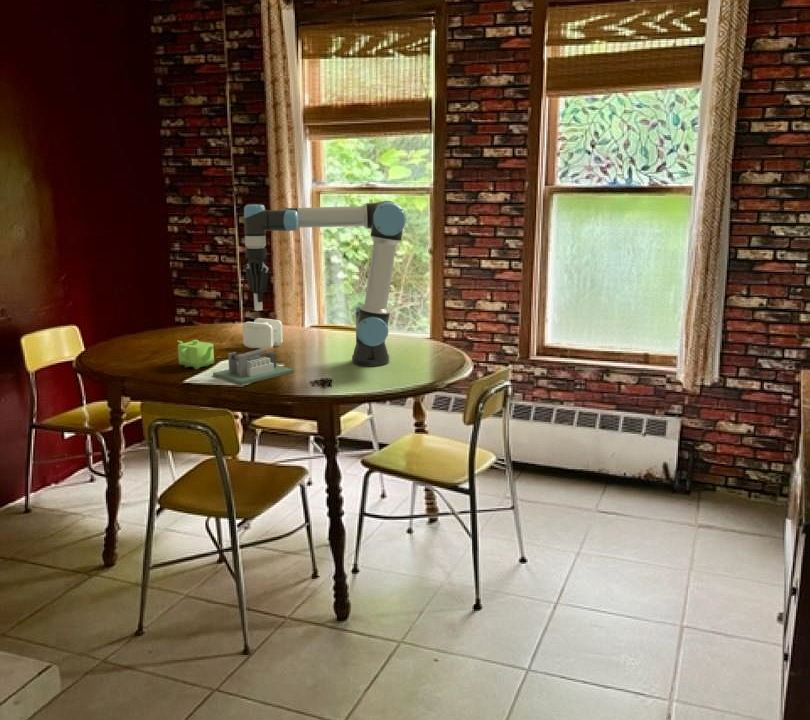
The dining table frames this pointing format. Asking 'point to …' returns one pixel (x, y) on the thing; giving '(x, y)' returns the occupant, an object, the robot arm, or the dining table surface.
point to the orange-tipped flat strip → (254, 353)
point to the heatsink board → (253, 378)
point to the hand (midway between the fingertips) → (258, 310)
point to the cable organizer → (262, 333)
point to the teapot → (195, 354)
